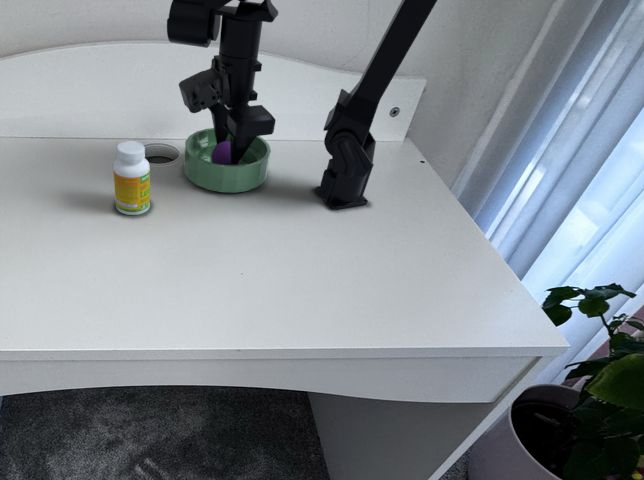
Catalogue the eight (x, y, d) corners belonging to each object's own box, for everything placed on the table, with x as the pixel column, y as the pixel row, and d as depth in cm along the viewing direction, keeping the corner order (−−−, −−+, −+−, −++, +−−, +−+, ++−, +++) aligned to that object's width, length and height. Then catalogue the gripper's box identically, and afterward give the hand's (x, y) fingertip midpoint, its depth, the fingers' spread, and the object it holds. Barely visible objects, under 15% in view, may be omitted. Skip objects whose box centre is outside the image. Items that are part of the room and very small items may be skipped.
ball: (232, 162, 89) (235, 134, 85) (243, 176, 86) (247, 147, 82) (206, 165, 88) (208, 137, 84) (216, 179, 85) (219, 151, 81)
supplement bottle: (145, 218, 77) (144, 158, 70) (111, 213, 78) (107, 153, 70) (153, 200, 81) (153, 141, 73) (121, 195, 81) (117, 136, 74)
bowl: (246, 150, 93) (249, 123, 90) (279, 189, 84) (285, 161, 81) (173, 159, 90) (174, 132, 86) (200, 201, 81) (202, 172, 77)
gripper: (166, 35, 77) (165, 135, 89) (209, 80, 65) (200, 189, 77) (233, 31, 80) (223, 129, 91) (286, 73, 68) (266, 180, 79)
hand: (227, 154), depth 85 cm, fingers open, 6 cm apart
